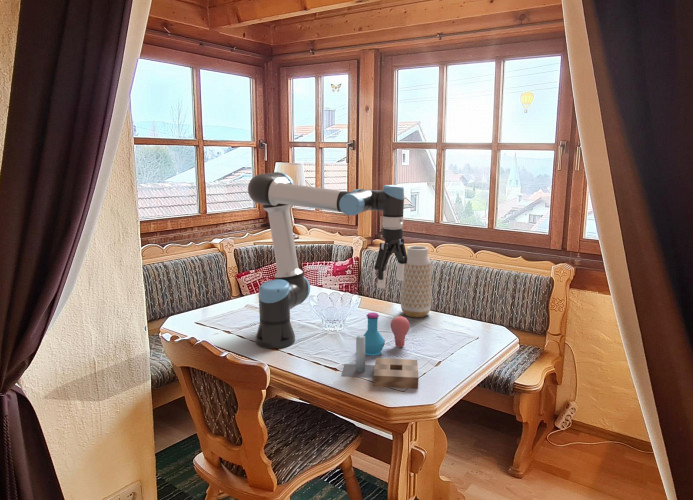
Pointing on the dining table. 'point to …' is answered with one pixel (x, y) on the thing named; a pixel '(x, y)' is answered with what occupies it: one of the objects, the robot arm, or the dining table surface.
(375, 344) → the perfume bottle
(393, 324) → the light bulb
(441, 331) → the dining table surface
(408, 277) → the vase
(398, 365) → the hole block
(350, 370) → the mat
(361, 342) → the peg
